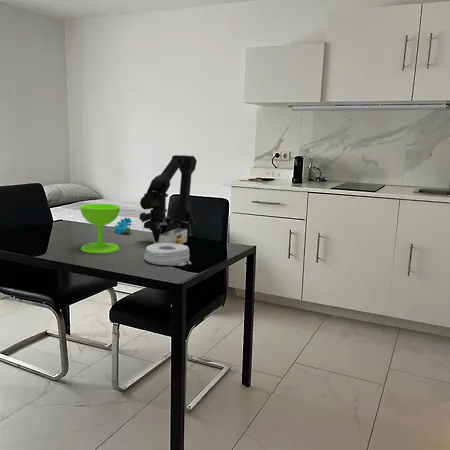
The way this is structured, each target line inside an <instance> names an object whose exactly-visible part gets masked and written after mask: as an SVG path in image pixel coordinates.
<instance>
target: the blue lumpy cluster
mask: <svg viewBox="0 0 450 450" xmlns="http://www.w3.org/2000/svg"><path fill="white" fill-rule="evenodd" d="M132 222H133V221H132V220H131V218H130V217H128V218H127V217H124V219H123V218H122V219H120V221H118V222H117V223H116V224H115V226H114V229H113V231H114V233H115V234H116V233H117V234H118V235H121V234H122V233H125V232H127V233H130V234H131V235H132V234H133V231H132V229H131V226H132V224H131V223H132Z"/></svg>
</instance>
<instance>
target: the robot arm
mask: <svg viewBox="0 0 450 450" xmlns="http://www.w3.org/2000/svg"><path fill="white" fill-rule="evenodd" d="M197 162H198V161H197V158H196V157H195V156H194V155H186V154H185V155H184V154H183V155H179V154H178V155H177V154H175V155H172V157H171V160H170V161H169V162H168V164H167V165H166V166H165V168H164V169H163V170H162V172H161V173H160V174H159V175H156V176H155V177H154V178H153V179H152V180H151V181H150V184H149V185H148V188H147V190H146V193H144V195H143V196H142V197H141V199H140V201H139V203H140V207H141V208H142V209H143V210H150V212H149V213H146V212H141V213H139V220H140V221H141V223H143V229H148V230H150V231H151V233H152V236H153V241H154V240H155V242H158V240H159V235H160V234H164V233H166V232H167V230H168V228H169V227H170V225H172V224H173V223H175V224H178V228H182V229H187V238H189V237H192V236H193V233H191V228H192V227H191V226H194V225H195V223H196V218H195V217H194V215H193V209H192V206H191V205H190V196H191V184H192V174H193V173H194V172H195V170H196V165H197ZM178 170H179V171H180V173H181V175H180V185H179V186H180V188H179V199H178V203H177V205H175V206H174V211H173V217H174V219H173V218H172V216H166V213H167V212H168V209H167V208H166V203H167V199H166V198H167V197H169V194H168V193H167V192H168V190H169V188H170V186H171V180H172V178H173V177H174V176H175V174H176V173H177V171H178Z"/></svg>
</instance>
